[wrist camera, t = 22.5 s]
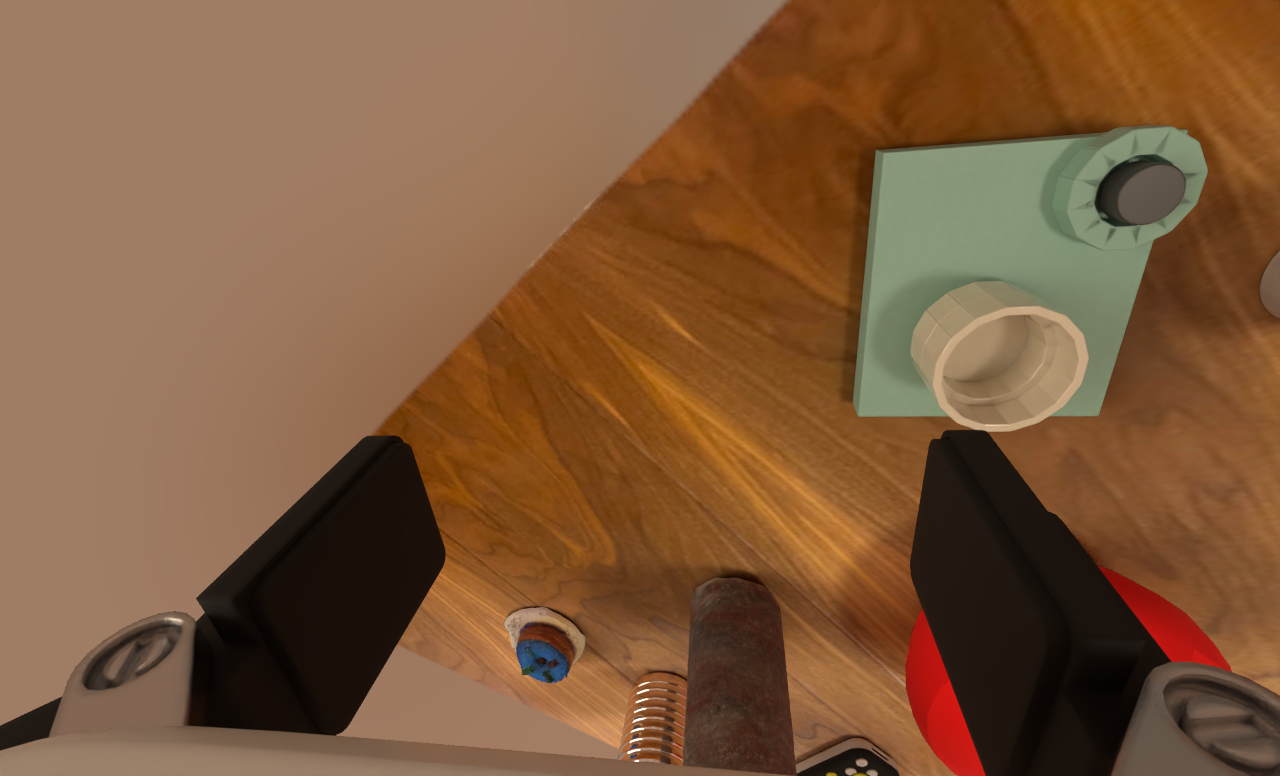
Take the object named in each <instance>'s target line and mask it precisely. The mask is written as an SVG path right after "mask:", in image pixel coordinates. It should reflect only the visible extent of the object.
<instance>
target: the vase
mask: <svg viewBox="0 0 1280 776" xmlns="http://www.w3.org/2000/svg"><path fill="white" fill-rule="evenodd" d="M1098 568H1099V569H1100V570H1101V571H1102V573H1103V574H1104V575H1105V577H1106V578H1107V579H1108V580H1109V582H1110V583H1111V584H1112V586H1113V587H1114V588H1115V589H1116V591H1117V592H1118V593H1119V595H1120V596H1121V597H1122V598H1123V600H1124V601H1125V602H1126V604H1127V605H1128V606H1129V607H1130V609H1131V610H1132V611H1133V613H1134V614H1135V615H1136V616H1137V618H1138V619H1139V620H1140V622H1141V623H1142V624H1143V625H1144V627H1145V628H1146V629H1147V631H1148V632H1149V633H1150V634H1151V636H1152V637H1153V638H1154V640H1155V641H1156V642H1157V643H1158V645H1159V646H1160V647H1161V649H1162V650H1163V651H1164V652H1165V654H1166V655H1167V656H1168V658H1169V659H1170V660H1171V661H1172V662H1196V663H1201V664H1206V665H1211V666H1216V667H1219V668H1222V669H1225V670H1227V671H1230V672H1232V671H1231V668H1230V666H1229V664H1228V663H1227V661H1226V660H1225V659H1224V657H1223V656H1222V654H1221V653H1220V651H1219V650H1218V649H1217V647H1216V646H1215V644H1214V643H1213V642H1212V641H1211V640H1210V639H1209V637H1208V636H1207V635H1206V634H1205V633H1204V632H1203V631H1202V630H1201V629H1200V628H1199V627H1198V626H1197V624H1196V623H1195V622H1194V621H1193V620H1192V619H1191V618H1190V617H1189V616H1188V615H1187V614H1186V613H1185V612H1183V611H1182V610H1180V609H1179V608H1177V607H1176V606H1174V605H1173V604H1171V603H1170V602H1168V601H1167V600H1166V599H1164V598H1163V597H1161V596H1160V595H1158V594H1156V593H1154V592H1152V591H1150V590H1148V589H1147V588H1145V587H1143V586H1141V585H1139V584H1137V583H1135V582H1133V581H1132V580H1130V579H1128V578H1126V577H1124V576H1122V575H1120V574H1118V573H1117V572H1114V571H1112V570H1109V569H1106V568H1103V567H1100V566H1098ZM906 690H907V694H908V697H909V701H910V705H911V709H912V712H913V716H914V718H915V720H916V723H917V725H918V727H919V729H920V731H921V733H922V735H923V737H924V739H925V740H926V742H927V743H928V744H929V746H930V747H931V749H932V750H933V751H934V753H935V754H936V755H937V757H938V758H939V759H940V760H941V761H942V762H943V763H944V764H945V765H946V766H947V767H948V768H949V769H950V770H951V771H952V772H953V773H954V774H956V775H958V776H986V775H985V773H984V770H983V767H982V765H981V762H980V759H979V757H978V754H977V751H976V749H975V746H974V743H973V741H972V738H971V735H970V733H969V730H968V728H967V725H966V722H965V720H964V717H963V714H962V712H961V709H960V706H959V704H958V701H957V698H956V696H955V693H954V690H953V688H952V685H951V682H950V680H949V677H948V675H947V672H946V669H945V667H944V664H943V661H942V659H941V656H940V653H939V651H938V648H937V645H936V643H935V640H934V637H933V635H932V632H931V629H930V627H929V624H928V621H927V619H926V616H925V614H924V611H923V609H922V610H921V612H920V613H919V615H918V618H917V620H916V623H915V625H914V628H913V631H912V633H911V639H910V644H909V650H908V656H907V661H906Z"/></svg>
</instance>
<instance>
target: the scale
mask: <svg viewBox="0 0 1280 776" xmlns="http://www.w3.org/2000/svg"><path fill="white" fill-rule="evenodd" d="M1187 132H1188V130H1187V129H1176V128H1175V127H1171V126H1160V125H1142V126H1129V127H1117V128H1115V129H1113V130H1111V131H1109V132H1102V133H1089V134H1077V135H1064V136H1051V137H1038V138H1025V139H1012V140H999V141H986V142H973V143H961V144H948V145H935V146H922V147H909V148H896V149H883V150H876V155H875V166H874V177H873V187H872V198H871V209H870V220H869V231H868V242H867V253H866V264H865V275H864V285H863V296H862V307H861V318H860V329H859V340H858V351H857V362H856V373H855V383H854V394H853V405H854V407H855V410H856V412H857V415H858V416H949V415H948V414H947V413H946V412H945V411H943V410H942V409H941V408H940V406H939V405H938V403H937V402H936V400H935V399H934V397H933V396H932V394H931V393H930V391H929V390H928V388H927V387H926V385H925V384H924V382H923V381H922V379H921V378H920V376H919V375H918V373H917V372H916V369H915V366H914V363H913V360H912V357H911V353H910V350H911V343H912V336H913V331H914V329H915V327H916V325H917V324H918V322H919V320H920V319H921V317H922V315H923V314H924V312H925V310H927V309H928V308H929V307H930V306H931V305H933V304H934V303H935V302H936V301H938V300H939V299H940V298H941V297H942V296H944V295H945V294H946V293H948V292H949V291H952V290H954V289H957V288H960V287H962V286H965V285H967V284H970V283H973V282H982V281H1002V282H1007V283H1009V284H1012V285H1015V286H1018V287H1021V288H1023V289H1026V290H1027V291H1029V292H1030V293H1032V294H1033V295H1035V296H1036V297H1038V298H1040V299H1041V300H1043V301H1044V302H1046V303H1047V304H1049V305H1050V306H1052V307H1053V308H1055V309H1057V310H1058V311H1060V312H1061V313H1063V314H1064V315H1066V316H1067V317H1068V318H1069V319H1070V320H1071V321H1072V322H1073V323H1074V324H1075V325H1076V326H1077V327H1078V329H1079V330H1080V331H1081V332H1082V333H1083V335H1084V338H1085V342H1086V347H1087V351H1088V356H1089V361H1088V364H1087V368H1086V371H1085V374H1084V378H1083V381H1082V384H1081V386H1080V387H1079V388H1078V389H1077V390H1076V392H1075V393H1074V394H1073V395H1072V397H1071V398H1070V399H1069V400H1068V402H1067V403H1066V404H1065V405H1064V406H1063V407H1062V408H1061V409H1059V410H1058V411H1056V412H1054V413H1053V414H1051V415H1050V416H1099V413H1100V409H1101V406H1102V403H1103V400H1104V397H1105V393H1106V390H1107V387H1108V384H1109V381H1110V377H1111V374H1112V371H1113V368H1114V365H1115V362H1116V358H1117V355H1118V352H1119V349H1120V346H1121V342H1122V339H1123V336H1124V333H1125V330H1126V326H1127V323H1128V320H1129V317H1130V314H1131V311H1132V307H1133V304H1134V301H1135V298H1136V295H1137V291H1138V288H1139V285H1140V282H1141V279H1142V275H1143V272H1144V269H1145V266H1146V263H1147V260H1148V256H1149V253H1150V250H1151V247H1152V244H1153V240H1154V239H1157V238H1159V237H1161V236H1163V235H1165V234H1167V233H1168V232H1171V231H1172V230H1173V229H1174V228H1175V227H1176V226H1177V225H1178V223H1179V222H1180V221H1181V220H1182V219H1183V218H1184V217H1185V216H1186V215H1187V214H1188V213H1189V212H1190V211H1191V210H1192V209H1193V208H1194V207H1195V205H1196V204H1197V202H1198V199H1199V196H1200V193H1201V190H1202V187H1203V185H1204V182H1205V179H1206V176H1207V173H1208V169H1207V165H1206V162H1205V159H1204V155H1203V152H1202V149H1201V145H1200V143H1199V142H1198V141H1197V140H1196V139H1194V138H1192V137H1190V136H1189V135H1187ZM1139 160H1147V161H1154V162H1160V163H1167V164H1171V165H1174V166H1176V167H1177V168H1179V169H1180V170H1181V171H1182V173H1183V174H1184V177H1185V180H1186V189H1185V193H1184V196H1183V198H1182V200H1181V201H1180V203H1179V204H1178V206H1177V207H1176V208H1175V209H1174V210H1173V211H1172V212H1171V213H1170V214H1169V215H1167V216H1166V217H1164V218H1162V219H1161V220H1159V221H1156V222H1154V223H1151V224H1147V225H1132V224H1128V223H1125V222H1122V221H1119V220H1116V219H1112V218H1110V217H1108V216H1107V215H1106V214H1105V213H1104V212H1103V211H1102V209H1101V207H1100V204H1099V195H1100V191H1101V188H1102V186H1103V184H1104V182H1105V181H1106V180H1107V178H1108V177H1109V176H1110V175H1111V174H1112V173H1113V172H1114V171H1116V170H1117V169H1118V168H1120V167H1122V166H1123V165H1126V164H1128V163H1130V162H1134V161H1139Z"/></svg>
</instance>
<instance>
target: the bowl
mask: <svg viewBox="0 0 1280 776" xmlns="http://www.w3.org/2000/svg"><path fill="white" fill-rule="evenodd" d="M910 353H911V357H912V360H913V363H914V366H915V369H916V372H917V373H918V375H919V376H920V378H921V379H922V381H923V382H924V384H925V385H926V387H927V388H928V390H929V391H930V393H931V394H932V396H933V397H934V399H935V400H936V402H937V403H938V405H939V406H940V408H941V409H942V410H943V411H945V412H946V413H947V414H948V415H949V416H950V417H951V418H952V419H953V420H954V421H955V422H957V423H958V424H961V425H964V426H967V427H970V428H973V429H975V430H984V431H986V432H1009V431H1013V430H1016V429H1020V428H1023V427H1026V426H1030V425H1033V424H1036V423H1039V422H1041V421H1042V420H1044V419H1045V418H1047V417H1048V416H1050V415H1051V414H1053V413H1054V412H1056V411H1058V410H1059V409H1061V408H1062V407H1063V406H1064V405H1065V404H1066V403H1067V402H1068V400H1069V399H1070V398H1071V397H1072V395H1073V394H1074V393H1075V392H1076V390H1077V389H1078V388H1079V387H1080V386H1081V384H1082V381H1083V378H1084V374H1085V371H1086V368H1087V364H1088V361H1089V356H1088V351H1087V347H1086V342H1085V338H1084V335H1083V333H1082V332H1081V331H1080V330H1079V329H1078V327H1077V326H1076V325H1075V324H1074V323H1073V322H1072V321H1071V320H1070V319H1069V318H1068V317H1067V316H1066V315H1064V314H1063V313H1061V312H1060V311H1058V310H1057V309H1055V308H1053V307H1052V306H1050V305H1049V304H1047V303H1046V302H1044V301H1043V300H1041V299H1040V298H1038V297H1036V296H1035V295H1033V294H1032V293H1030V292H1029V291H1027V290H1026V289H1023V288H1021V287H1018V286H1015V285H1012V284H1009V283H1007V282H1002V281H982V282H973V283H970V284H967V285H965V286H962V287H960V288H957V289H954V290H952V291H949V292H948V293H946V294H945V295H944V296H942V297H941V298H940V299H939V300H938V301H936V302H935V303H934V304H933V305H931V306H930V307H929V308H928V309H927V310H925V312H924V314H923V315H922V317H921V319H920V320H919V322H918V324H917V325H916V327H915V329H914V331H913V336H912V343H911V350H910Z"/></svg>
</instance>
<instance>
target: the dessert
mask: <svg viewBox="0 0 1280 776" xmlns="http://www.w3.org/2000/svg"><path fill="white" fill-rule="evenodd" d="M505 628H506V629H507V630H508V632H509V634H510V637H511V644H512V648H515V652H516V654H517V657H518V660H519V663H520V665H521V668H522V675H530V676H531V677H533V678H535V679H537V680H540V681H544V682H546V683H552V682H554V683H556V682H557V681H560V680H562V679H563V678H564V676H566V677H567V676H568V675H567V674H568V672H569V670H570V668H571V666H572V665H573V664H574V663H575V662H576V661H577V660H578V659H579V658H580V656H581V655H582V653H583V651H584V647H585V640H586V639H585V636H584V635H583V634H581V633H580V632H579V630H578V629H577V627H576V626H575V625H574V624H573V623H571V622H570V621H569V620H567V619H566V618H564V617H562V616H561V615H559V614H557V613H555V612H552V611H551V610H550V609H548V608H545V607H538V608H528V609H521V610H519V611H517V612H514V613H513V614H512V615H511V616H509V617H507V618H506V620H505ZM507 639H508V637H507Z"/></svg>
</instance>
